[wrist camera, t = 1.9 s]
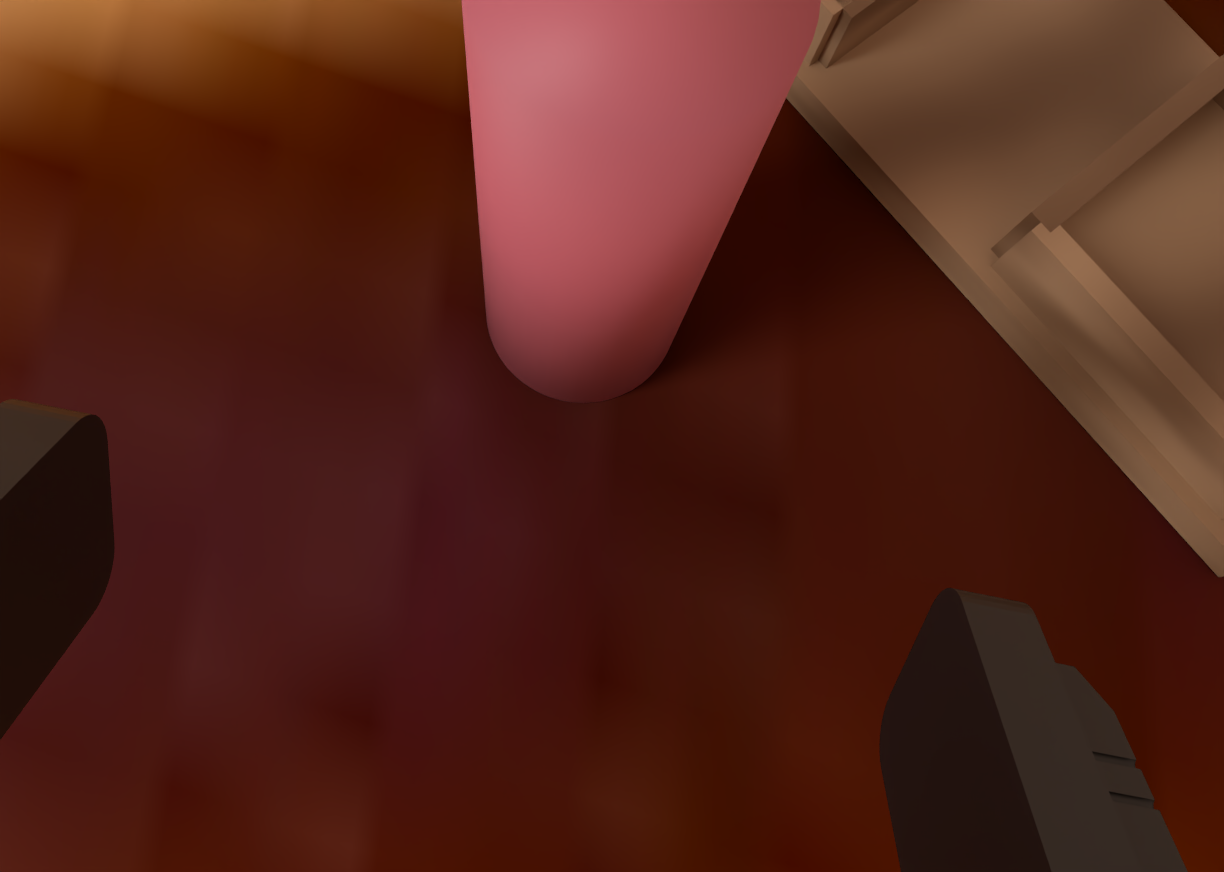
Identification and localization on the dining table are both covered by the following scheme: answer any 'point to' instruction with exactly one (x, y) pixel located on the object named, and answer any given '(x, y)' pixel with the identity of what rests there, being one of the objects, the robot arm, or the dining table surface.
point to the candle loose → (614, 168)
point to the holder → (1058, 203)
